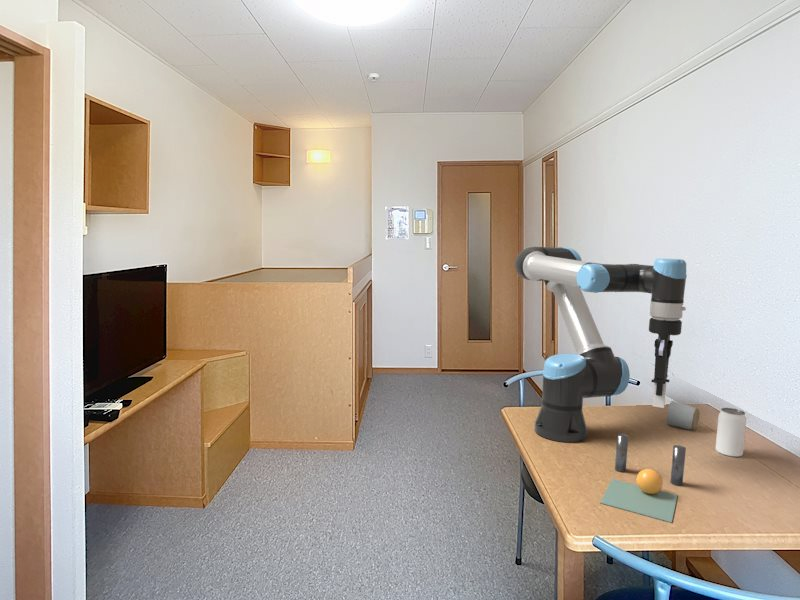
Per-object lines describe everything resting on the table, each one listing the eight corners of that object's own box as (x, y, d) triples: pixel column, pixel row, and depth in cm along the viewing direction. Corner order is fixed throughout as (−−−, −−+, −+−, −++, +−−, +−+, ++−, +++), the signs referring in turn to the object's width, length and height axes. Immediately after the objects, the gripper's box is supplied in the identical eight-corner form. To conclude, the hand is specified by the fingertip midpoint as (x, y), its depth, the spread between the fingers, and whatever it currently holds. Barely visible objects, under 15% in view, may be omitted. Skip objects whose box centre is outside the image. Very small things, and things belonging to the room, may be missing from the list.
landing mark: (600, 503, 113) (600, 502, 113) (612, 479, 125) (612, 478, 125) (671, 523, 106) (671, 522, 106) (677, 495, 118) (677, 494, 118)
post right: (669, 483, 124) (673, 447, 123) (670, 479, 126) (674, 444, 125) (682, 486, 122) (685, 450, 121) (682, 482, 124) (686, 446, 123)
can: (747, 458, 140) (751, 415, 138) (720, 456, 141) (724, 413, 140) (736, 449, 146) (740, 408, 145) (711, 447, 147) (715, 406, 146)
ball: (636, 472, 123) (634, 494, 120) (638, 462, 119) (636, 485, 116) (662, 477, 121) (660, 500, 118) (664, 468, 117) (663, 491, 114)
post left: (613, 470, 130) (616, 436, 129) (615, 466, 132) (618, 432, 131) (624, 473, 129) (627, 438, 128) (626, 469, 131) (629, 435, 130)
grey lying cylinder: (693, 433, 158) (696, 409, 157) (664, 426, 163) (667, 403, 162) (701, 425, 166) (703, 402, 165) (673, 419, 171) (675, 396, 170)
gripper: (680, 322, 127) (672, 415, 129) (683, 317, 137) (676, 403, 140) (646, 319, 131) (639, 410, 133) (652, 314, 141) (646, 398, 144)
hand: (658, 406), depth 137 cm, fingers closed
